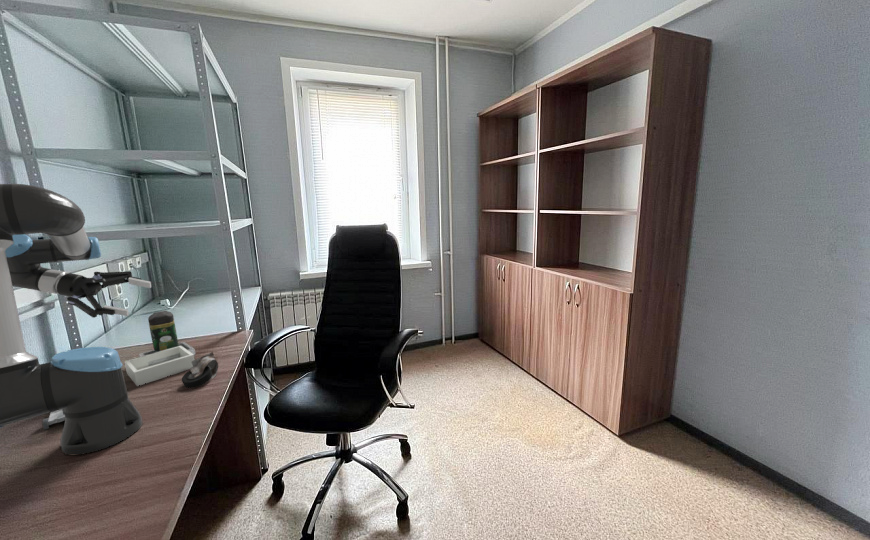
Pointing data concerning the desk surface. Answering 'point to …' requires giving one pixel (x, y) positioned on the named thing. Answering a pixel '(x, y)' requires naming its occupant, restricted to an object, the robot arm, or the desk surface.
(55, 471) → the desk surface
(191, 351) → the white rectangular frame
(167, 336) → the coffee jar
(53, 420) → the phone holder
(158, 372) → the tray
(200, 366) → the caster wheel
